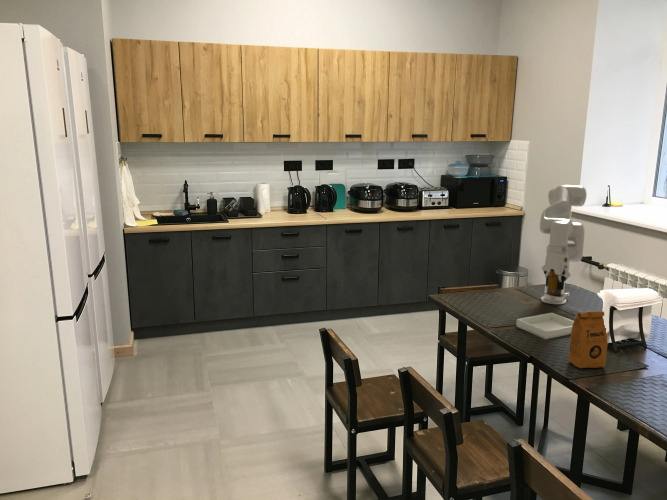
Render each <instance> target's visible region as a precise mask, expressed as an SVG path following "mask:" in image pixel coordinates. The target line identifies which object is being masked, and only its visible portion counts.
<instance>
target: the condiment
mask: <svg viewBox="0 0 667 500" xmlns="http://www.w3.org/2000/svg"><path fill="white" fill-rule="evenodd" d="M561 278H562V276H561ZM558 282H559V278H558V275H556V274H555V271H554V270H553V269H550V273H549V275H548V285H547V292H546V293H545V292H543V293H542V294H543V295H544V294H546V295H550V296H555V297H560V298H561V297H564V296H566V297H568V296H567V294H563V293H561V290H557V286H558Z"/></svg>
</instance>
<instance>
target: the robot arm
mask: <svg viewBox="0 0 667 500" xmlns="http://www.w3.org/2000/svg"><path fill="white" fill-rule="evenodd" d="M547 197H548V198H547V199H548V202H549V206H547V207H546V208H545V209H544V210H543V211H542V212H541V216H540V220H539V221H540V222H539V230H540V232H541V233H542V234H543V235H544V234H545V235H549V241H548V242H549V243H548V244H547V246H546V250H545V251H546V252H545V253H546V256H545V262H544V265H543V266H542V267H541V270H542V271H543V274H544V278H545V285H544V293H546V292H547V285H548V275H549V273H550V269H553V270H554V271H555V274H556V275H558V278H559V282H558V286H557V290H561V293H563V294H567V296H564V297H561V298H560V297H555V296H550V295H546V294H543V296H541V297H540V300H541V302H543V303H546V304H551V305H564V304H566V303H567V299H566V297H570V296H571V294H570V293H571V292H565V288H566V287H565V285H566V284H565V283H566V280H568V279H569V278H570V277H571V274H570V270H569V269H570V263H579V262H581V261H582V259H583V255H584V245H585V243H584V242H585V227H584V224H582V223H581V222H573V220H571V211H572V208H573V207H583V206H584V205H585V204H586V200H587V190H586V188H585V187H584V186H582V185H571V184H564V185H563V184H561V185H558V186H557V187H555V188H551V189H550V190H549V191H548V195H547ZM569 241H570V242H571V243H570V242H569ZM568 242H569V243H568ZM572 242H573V243H572ZM561 276H562V278H561Z"/></svg>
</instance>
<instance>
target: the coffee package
mask: <svg viewBox="0 0 667 500" xmlns="http://www.w3.org/2000/svg"><path fill="white" fill-rule="evenodd" d="M575 317H576V319H575V320H574V319H573V321H574V323H573V326H572V330H571V334H570V339H569V340H570V341H569V349H568V350H569V351H568V352H569V353H568V362H569V363H570V364H572V365H573V366H574V367H577V368H579V369H589V368H590V369H596V368H597V369H598V368H604V367H605V366H606V364H607V363H606V362H607V351H608V344H609V342H608V341H609V340H608V335H607V334H608V333H606V328H605V325H604V320H605V319H604V317H605V311H584V312H578V313H577V315H576V316H575Z"/></svg>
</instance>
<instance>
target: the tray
mask: <svg viewBox="0 0 667 500" xmlns="http://www.w3.org/2000/svg"><path fill="white" fill-rule="evenodd" d="M573 323H574V319H573V320H572V319H569V318H567V317H565V316H562V315H560V314H557V313H554V312H548V313H541V314H537V315H531V316H527V317H526V316H525V317H521V318H517V319H516V325H515V326H516V328H519V329H522V330H524V331H526V332H528V333H530V334H532V335H534V336H537V337H539V338H542V339H543V340H549V339H554V338H558V337H559V338H560V337H563V336H568V335H571V330H572V326H573Z"/></svg>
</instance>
